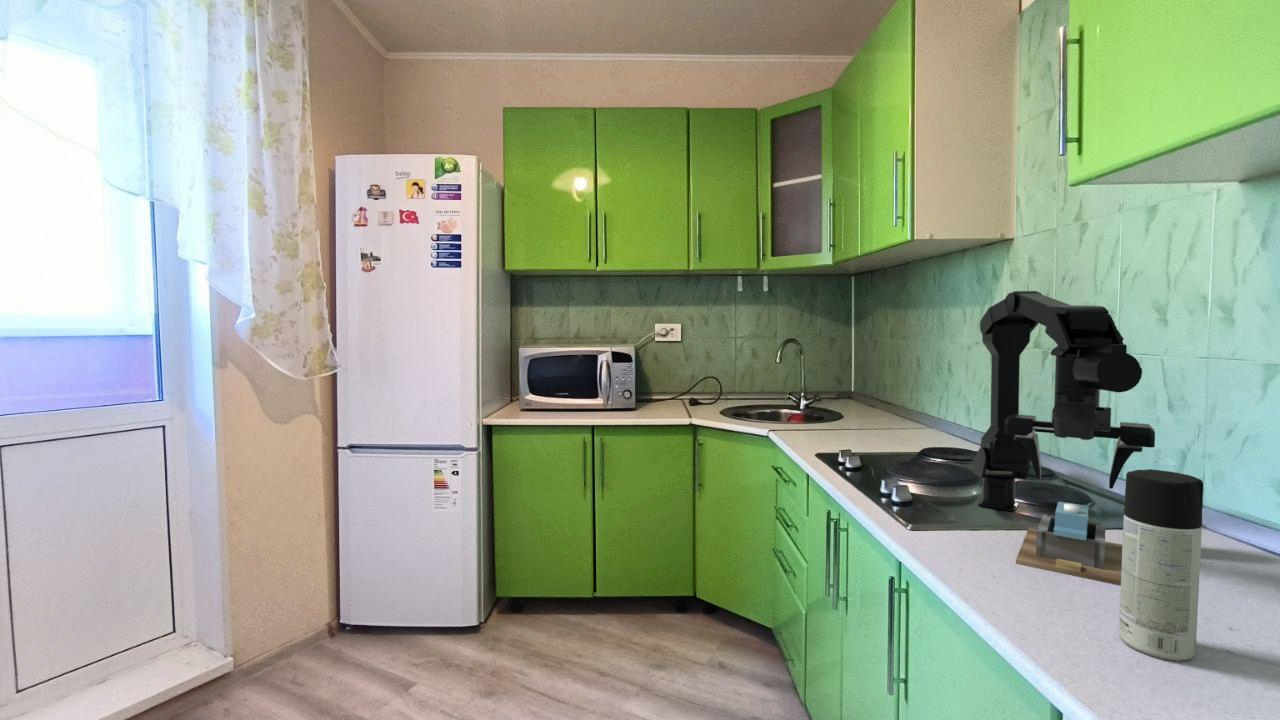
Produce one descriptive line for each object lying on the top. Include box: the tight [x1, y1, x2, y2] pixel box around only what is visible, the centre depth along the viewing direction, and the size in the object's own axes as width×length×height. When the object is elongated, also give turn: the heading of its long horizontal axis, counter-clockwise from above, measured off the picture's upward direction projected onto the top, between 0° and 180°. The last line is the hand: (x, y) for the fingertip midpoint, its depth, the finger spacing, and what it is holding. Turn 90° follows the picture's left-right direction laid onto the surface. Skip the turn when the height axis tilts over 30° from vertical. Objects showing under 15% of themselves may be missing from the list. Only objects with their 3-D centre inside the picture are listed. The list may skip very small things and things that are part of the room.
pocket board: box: [1015, 513, 1123, 586], centre depth 93 cm, size 18×13×4 cm
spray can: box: [1118, 468, 1204, 662], centre depth 66 cm, size 7×7×20 cm
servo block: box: [1054, 501, 1089, 540], centre depth 93 cm, size 12×4×8 cm, turn 141°
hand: (1073, 483), depth 93 cm, fingers open, 9 cm apart
